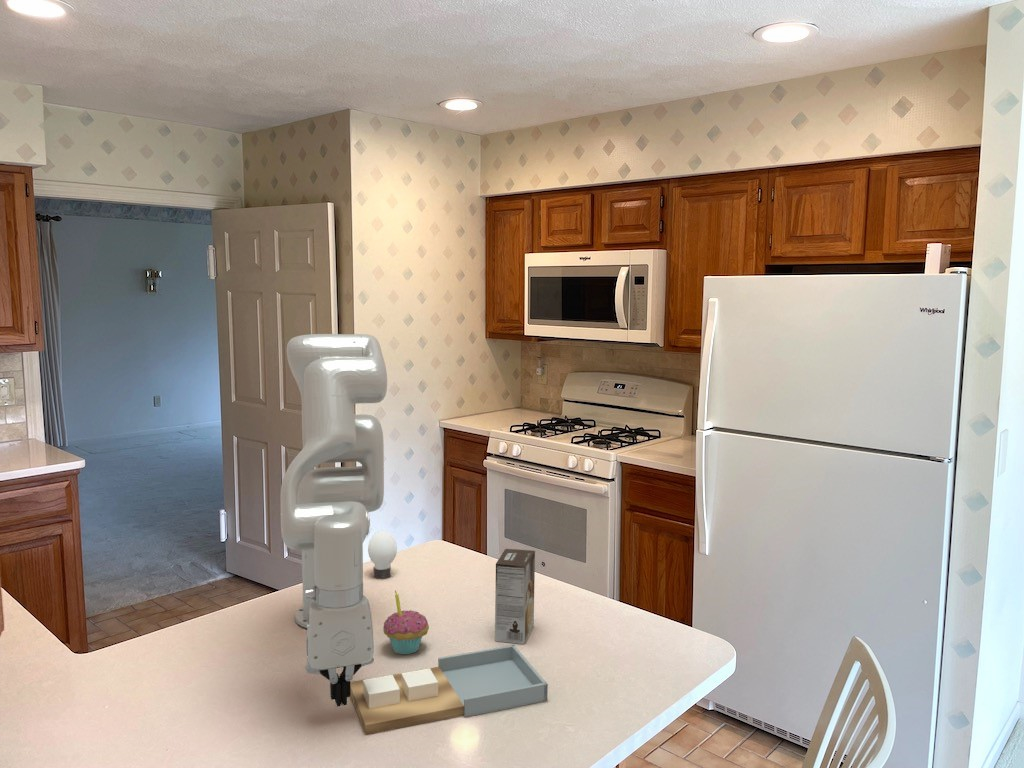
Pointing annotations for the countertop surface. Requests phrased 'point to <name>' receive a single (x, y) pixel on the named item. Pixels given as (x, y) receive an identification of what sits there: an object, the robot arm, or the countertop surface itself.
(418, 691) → the tile
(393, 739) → the countertop surface
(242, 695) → the countertop surface
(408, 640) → the cupcake
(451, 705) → the board
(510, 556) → the coffee box
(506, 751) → the countertop surface
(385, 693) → the tile
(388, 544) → the light bulb
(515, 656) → the tray
